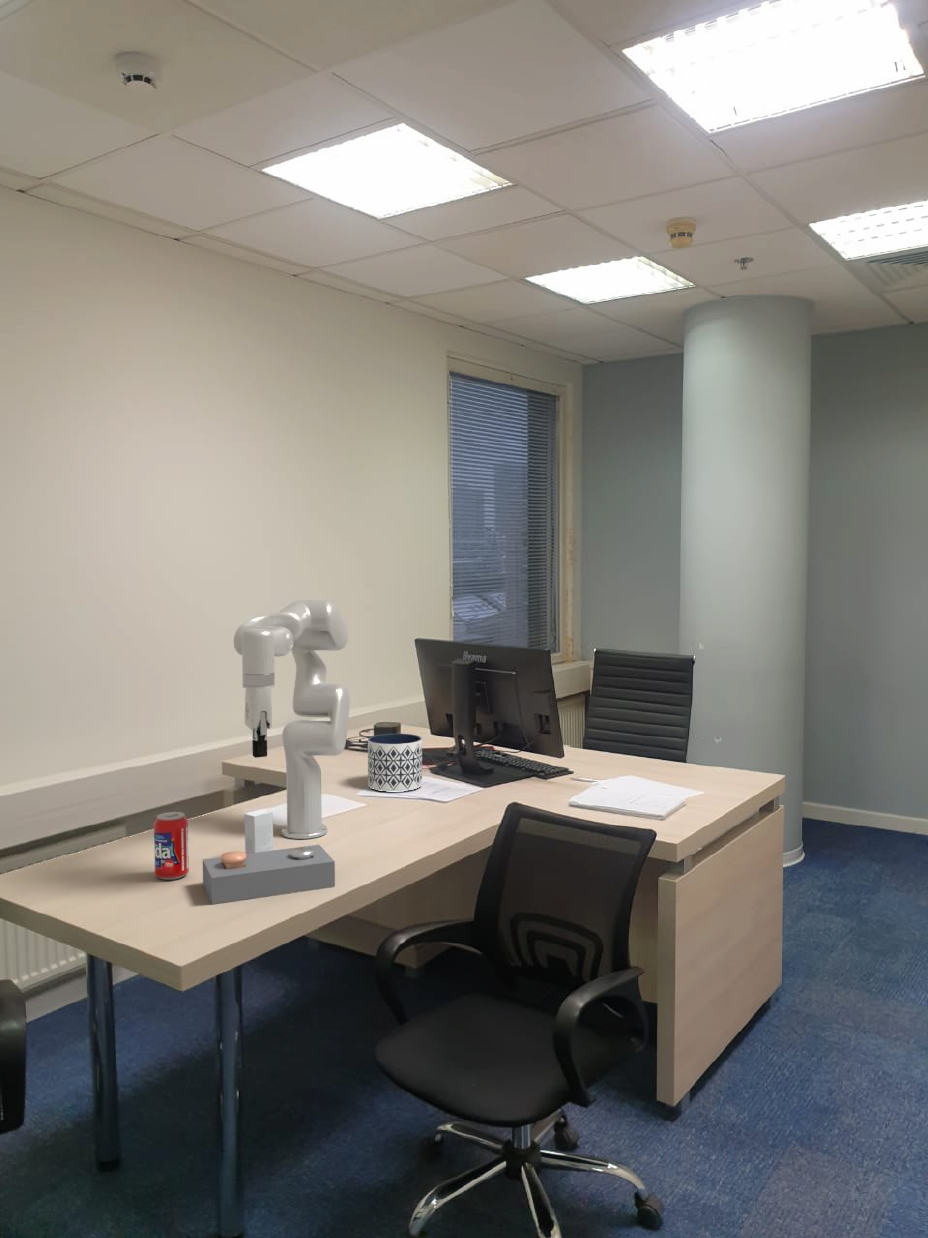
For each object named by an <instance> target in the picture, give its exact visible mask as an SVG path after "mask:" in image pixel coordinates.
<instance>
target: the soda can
mask: <svg viewBox="0 0 928 1238" xmlns="http://www.w3.org/2000/svg"><path fill="white" fill-rule="evenodd" d="M153 843H154V844H153V846H154V847H153V849H154V851H153V852H154V853H153V855H154V875H155V877H157V878H159V879H160V880H163V881H174V880H179V879H182V878H184V876H186V875H187V874H189V871H190V856H189V853H190V851H189V850H190V849H189V820H188V819H187V818H186V814H185V813H184V812H180V811H171V812H170V811H169V812H162V813H160V814H157V815H156V819H155V821H154V823H153Z"/></svg>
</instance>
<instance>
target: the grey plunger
mask: <svg viewBox="0 0 928 1238" xmlns="http://www.w3.org/2000/svg"><path fill="white" fill-rule="evenodd" d="M298 847H299V848H297V847H293V848H294V849H292V850H290V857H291V858H293V859H294V860H299V859H308V858H312V857H313V856H314V849H312V848H309V847H304V846H298Z"/></svg>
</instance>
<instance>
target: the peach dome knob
mask: <svg viewBox="0 0 928 1238" xmlns="http://www.w3.org/2000/svg"><path fill="white" fill-rule="evenodd" d="M220 857H221V862H222V863H223V866H224V868H225V869H232V868H239V867H244V861H246V853H245V852H244V851H239V850H238V851H237V850H235V851H227V852H224V853H223V854H221V856H220Z"/></svg>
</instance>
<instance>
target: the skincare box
mask: <svg viewBox="0 0 928 1238" xmlns="http://www.w3.org/2000/svg"><path fill="white" fill-rule="evenodd" d="M243 815H244V816H243V818H244V843H245V844H244V848H245V852H244V853H246V854H249V853H257V852H265V851H273V850H275V848H274V824H273V823H274V822H273V820H274V818H273V811H272V810H268V809H264V808H260V809H257V810H254V811H250V812H246V813H244V814H243Z"/></svg>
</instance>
